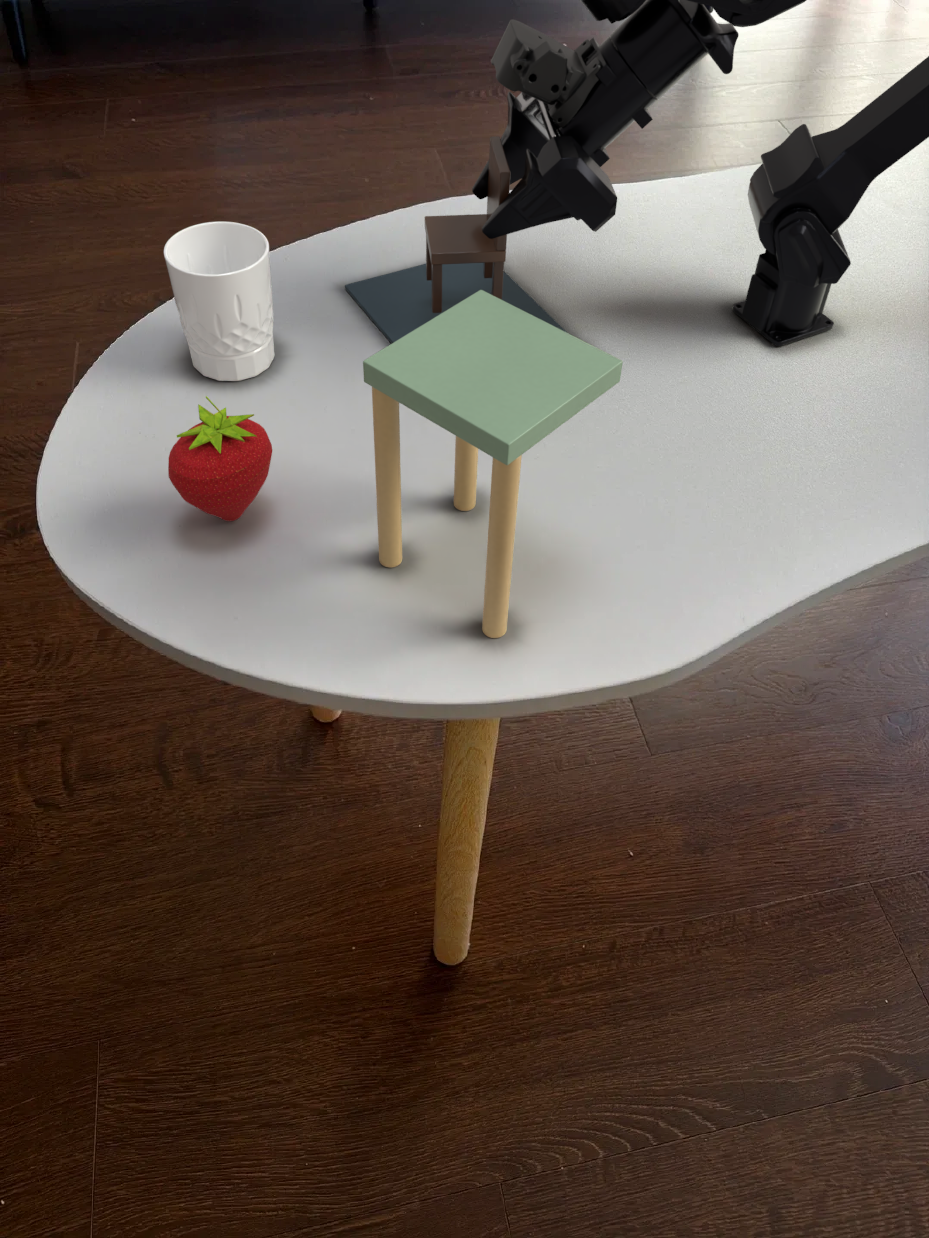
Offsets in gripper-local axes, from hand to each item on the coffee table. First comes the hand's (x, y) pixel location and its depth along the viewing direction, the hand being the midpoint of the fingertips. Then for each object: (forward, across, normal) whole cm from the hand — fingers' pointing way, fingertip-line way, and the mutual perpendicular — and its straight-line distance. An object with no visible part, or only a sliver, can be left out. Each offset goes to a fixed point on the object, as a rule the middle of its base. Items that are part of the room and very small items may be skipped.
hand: (480, 214), depth 88 cm
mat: (+8, 0, +6) cm, 10 cm away
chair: (+6, 0, +4) cm, 7 cm away
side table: (+9, +29, +5) cm, 31 cm away
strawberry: (+22, +23, -8) cm, 33 cm away
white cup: (+22, +4, -8) cm, 23 cm away
